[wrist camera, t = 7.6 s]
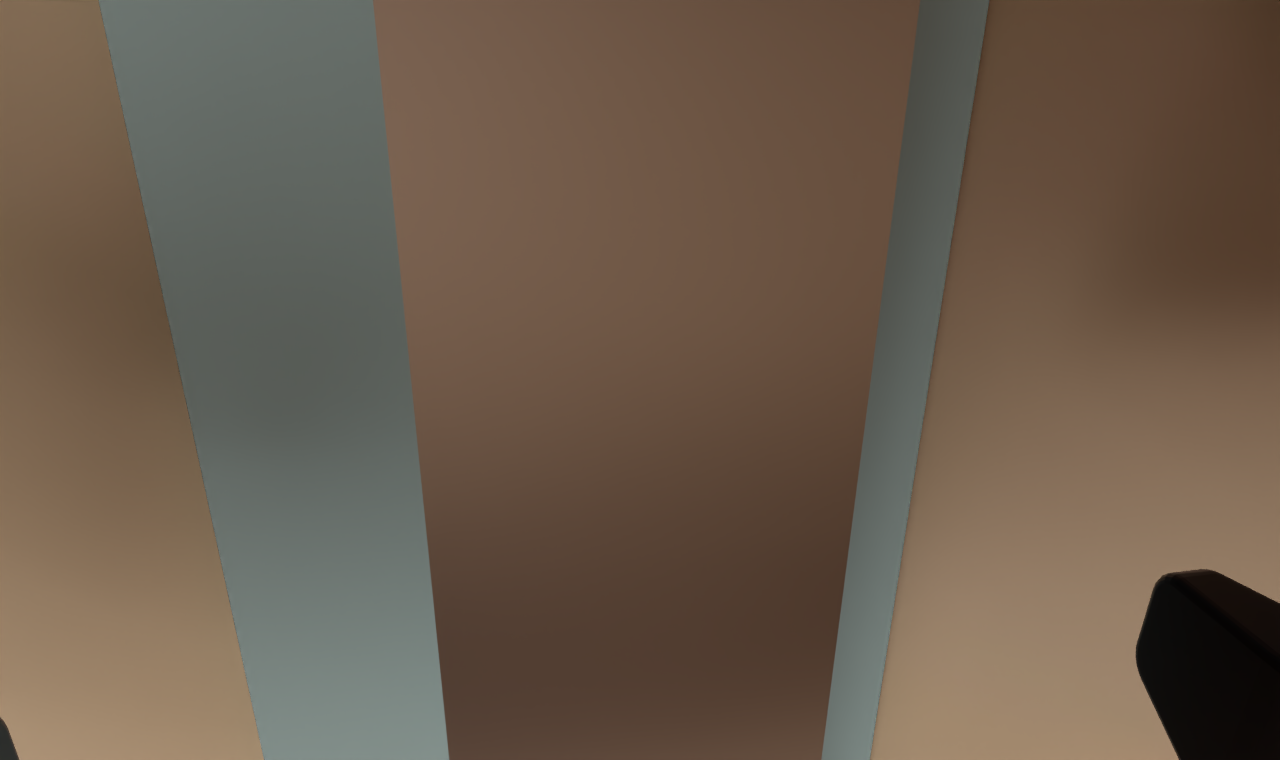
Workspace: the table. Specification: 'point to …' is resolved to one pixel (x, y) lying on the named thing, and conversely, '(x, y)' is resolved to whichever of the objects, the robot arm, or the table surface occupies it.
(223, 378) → the mat
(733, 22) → the rail
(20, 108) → the table surface
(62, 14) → the table surface
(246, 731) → the table surface
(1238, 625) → the robot arm
